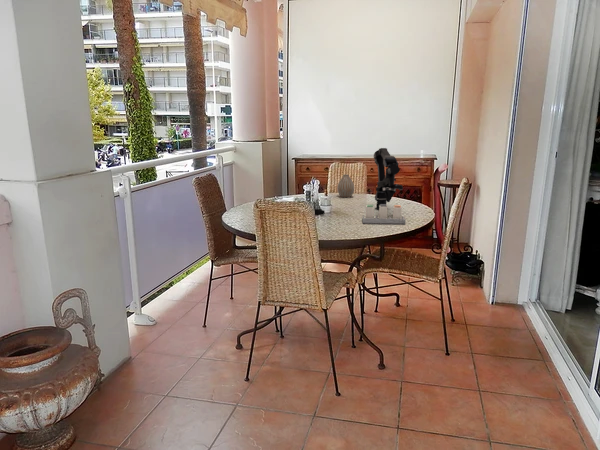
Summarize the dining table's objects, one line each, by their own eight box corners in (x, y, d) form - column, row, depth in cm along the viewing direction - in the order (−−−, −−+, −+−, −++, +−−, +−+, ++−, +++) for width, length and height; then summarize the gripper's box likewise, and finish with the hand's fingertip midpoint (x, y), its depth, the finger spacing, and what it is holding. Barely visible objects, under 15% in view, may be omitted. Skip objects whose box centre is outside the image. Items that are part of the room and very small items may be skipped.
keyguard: (362, 218, 266) (362, 214, 265) (403, 219, 263) (403, 215, 262) (362, 222, 256) (362, 218, 255) (405, 223, 253) (405, 219, 252)
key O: (392, 219, 262) (393, 204, 259) (400, 219, 261) (400, 204, 259) (393, 221, 257) (394, 206, 255) (401, 221, 257) (401, 206, 255)
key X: (378, 218, 265) (379, 203, 262) (386, 218, 264) (386, 204, 262) (379, 220, 260) (379, 205, 258) (386, 220, 260) (387, 205, 258)
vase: (340, 198, 335) (340, 176, 331) (335, 196, 348) (335, 174, 344) (356, 198, 338) (357, 175, 334) (350, 195, 351) (351, 173, 347)
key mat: (362, 219, 267) (362, 218, 267) (402, 220, 264) (402, 218, 264) (362, 224, 256) (362, 222, 256) (405, 224, 253) (405, 223, 253)
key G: (365, 219, 263) (366, 204, 261) (373, 219, 263) (373, 204, 261) (365, 220, 259) (366, 205, 257) (373, 220, 259) (373, 206, 257)
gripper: (370, 176, 275) (368, 201, 274) (390, 173, 259) (388, 199, 258) (383, 179, 281) (382, 203, 280) (404, 176, 265) (402, 201, 264)
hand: (388, 202), depth 270 cm, fingers closed
